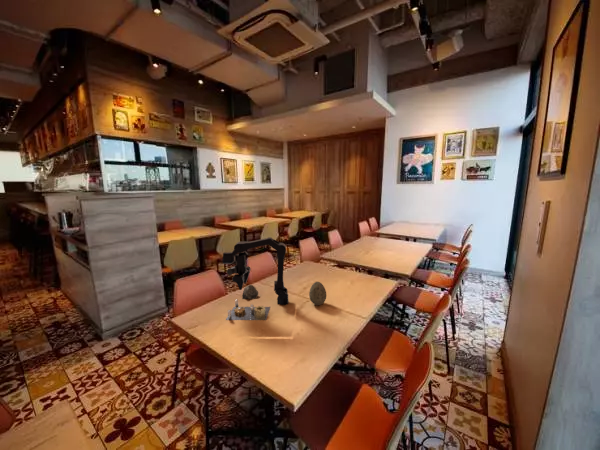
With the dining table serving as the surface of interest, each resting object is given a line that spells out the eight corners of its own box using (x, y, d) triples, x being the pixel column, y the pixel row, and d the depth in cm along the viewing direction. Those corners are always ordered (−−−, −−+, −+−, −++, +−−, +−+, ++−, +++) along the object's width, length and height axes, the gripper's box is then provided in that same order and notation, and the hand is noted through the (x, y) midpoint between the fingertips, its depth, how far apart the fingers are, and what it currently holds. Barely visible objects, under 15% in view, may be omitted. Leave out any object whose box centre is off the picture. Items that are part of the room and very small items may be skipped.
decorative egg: (314, 299, 160) (313, 277, 157) (329, 302, 154) (329, 280, 152) (306, 306, 150) (305, 283, 148) (322, 310, 145) (321, 286, 143)
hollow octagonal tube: (266, 312, 142) (265, 305, 142) (264, 317, 136) (263, 311, 136) (256, 312, 143) (255, 305, 142) (253, 317, 137) (253, 311, 136)
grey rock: (255, 300, 158) (247, 287, 157) (244, 306, 160) (236, 293, 160) (260, 293, 168) (253, 281, 168) (250, 298, 171) (243, 286, 170)
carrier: (270, 308, 149) (270, 299, 148) (266, 321, 134) (265, 311, 133) (234, 308, 150) (233, 299, 149) (225, 321, 135) (224, 311, 134)
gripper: (233, 258, 157) (235, 281, 159) (222, 267, 138) (224, 293, 141) (249, 257, 156) (251, 280, 158) (241, 267, 138) (243, 293, 140)
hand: (242, 286), depth 149 cm, fingers open, 9 cm apart
